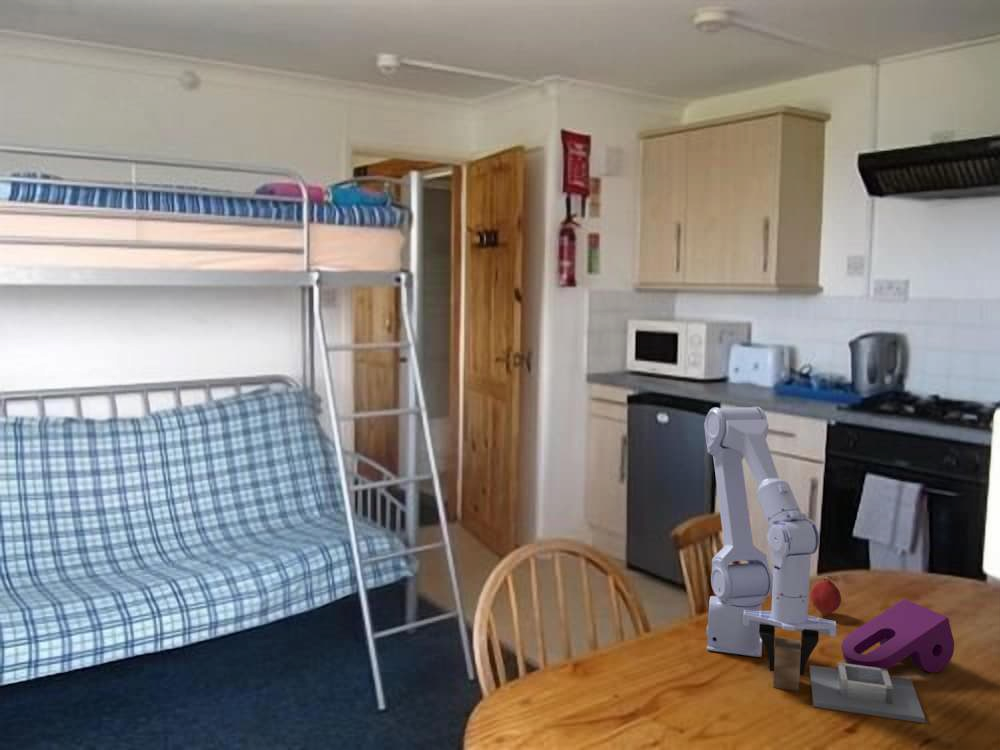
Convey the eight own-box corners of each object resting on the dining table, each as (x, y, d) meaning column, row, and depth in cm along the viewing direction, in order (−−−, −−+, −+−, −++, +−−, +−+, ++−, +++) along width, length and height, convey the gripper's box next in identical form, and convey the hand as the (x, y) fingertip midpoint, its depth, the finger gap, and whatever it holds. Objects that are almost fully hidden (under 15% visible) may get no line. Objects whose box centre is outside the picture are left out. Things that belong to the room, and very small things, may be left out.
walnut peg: (773, 687, 143) (775, 646, 142) (773, 676, 147) (775, 637, 146) (798, 690, 142) (800, 649, 141) (798, 680, 146) (800, 640, 145)
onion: (814, 607, 179) (816, 570, 179) (843, 614, 176) (845, 576, 175) (806, 616, 175) (807, 577, 174) (835, 622, 171) (837, 583, 171)
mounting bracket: (882, 710, 146) (958, 658, 151) (870, 668, 144) (948, 617, 149) (841, 686, 154) (915, 637, 160) (829, 646, 152) (904, 598, 158)
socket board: (813, 706, 137) (814, 686, 136) (809, 669, 150) (810, 651, 150) (924, 723, 132) (926, 702, 132) (910, 683, 145) (911, 664, 145)
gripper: (743, 594, 141) (740, 674, 143) (839, 605, 137) (834, 687, 138) (745, 580, 148) (741, 657, 149) (836, 590, 144) (831, 669, 145)
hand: (786, 671), depth 144 cm, fingers closed on walnut peg, 4 cm apart
